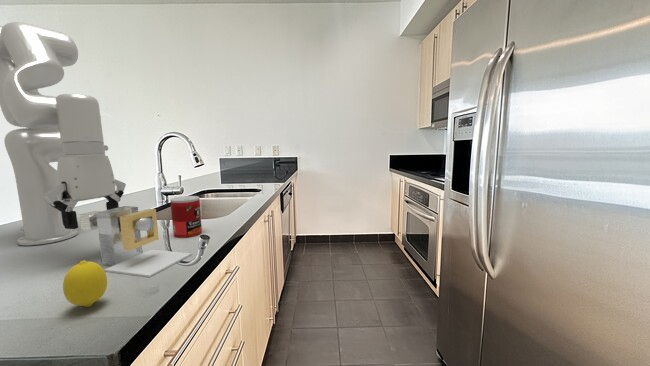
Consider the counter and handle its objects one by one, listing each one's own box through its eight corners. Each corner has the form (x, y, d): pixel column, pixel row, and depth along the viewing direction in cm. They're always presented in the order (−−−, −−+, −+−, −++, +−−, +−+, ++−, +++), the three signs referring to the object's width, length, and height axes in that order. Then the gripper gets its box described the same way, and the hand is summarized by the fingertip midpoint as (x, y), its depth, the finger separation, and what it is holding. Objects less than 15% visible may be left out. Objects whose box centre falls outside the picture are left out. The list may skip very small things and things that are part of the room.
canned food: (191, 238, 82) (188, 200, 80) (167, 237, 83) (163, 200, 82) (207, 230, 89) (205, 196, 88) (184, 229, 91) (182, 195, 89)
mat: (104, 271, 61) (104, 269, 61) (151, 250, 72) (151, 249, 72) (149, 277, 58) (149, 275, 58) (191, 255, 69) (191, 253, 69)
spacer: (123, 249, 62) (119, 216, 61) (152, 238, 69) (149, 208, 68) (130, 250, 61) (126, 216, 60) (158, 239, 68) (155, 209, 67)
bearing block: (102, 264, 64) (95, 212, 63) (129, 253, 71) (124, 206, 69) (116, 266, 63) (109, 213, 62) (142, 254, 70) (137, 206, 68)
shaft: (81, 229, 67) (79, 214, 66) (96, 225, 70) (95, 210, 70) (142, 234, 62) (140, 218, 62) (156, 229, 66) (154, 214, 65)
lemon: (83, 298, 50) (77, 255, 49) (117, 296, 51) (111, 253, 49) (57, 317, 45) (49, 269, 44) (94, 315, 45) (88, 267, 44)
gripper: (108, 150, 75) (116, 213, 77) (25, 151, 58) (38, 232, 61) (131, 149, 73) (138, 214, 75) (51, 151, 57) (64, 234, 59)
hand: (94, 222), depth 68 cm, fingers open, 9 cm apart
